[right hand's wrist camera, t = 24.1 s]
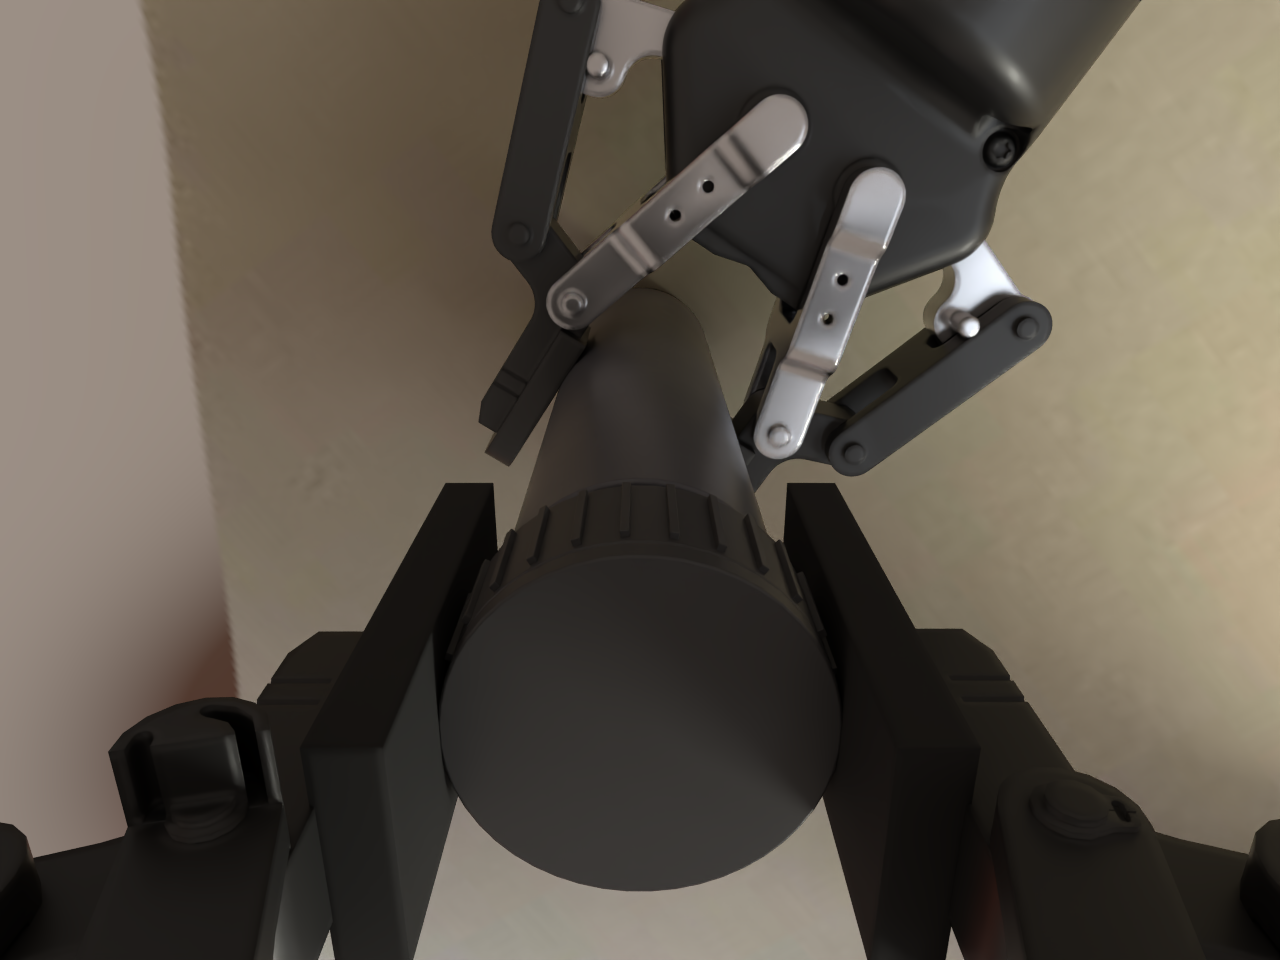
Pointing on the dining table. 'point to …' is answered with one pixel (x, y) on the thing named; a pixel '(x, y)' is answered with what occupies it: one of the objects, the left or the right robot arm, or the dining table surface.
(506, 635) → the lid
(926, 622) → the dining table surface
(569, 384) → the gray bottle
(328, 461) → the dining table surface
